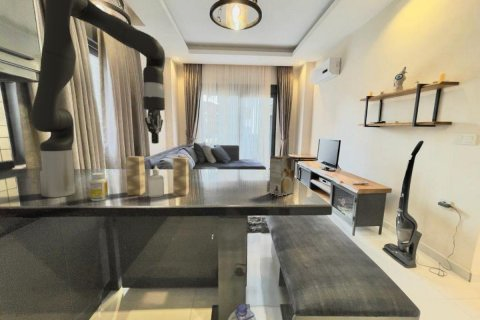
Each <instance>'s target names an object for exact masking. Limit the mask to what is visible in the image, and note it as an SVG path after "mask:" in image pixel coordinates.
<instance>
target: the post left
mask: <svg viewBox="0 0 480 320" xmlns="http://www.w3.org/2000/svg"><path fill="white" fill-rule="evenodd" d="M125 166H126V167H125V168H126V187H127V188H126V189H127V196H141V195H143V194H145V193H146V172H145V167H146V166H145V156H143V155H131V156H130V155H129V156H126V157H125Z"/></svg>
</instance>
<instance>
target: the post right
mask: <svg viewBox="0 0 480 320" xmlns="http://www.w3.org/2000/svg"><path fill="white" fill-rule="evenodd" d="M189 163H190V162H189V157H188V156H175V157H173V158H172V174H173V175H172V179H173V183H172V185H173V187H172V189H173V197H186V196H187V195H188V194H189V191H190V189H189V188H190V187H189V185H190V184H189V180H190V179H189V175H190V173H189V165H190V164H189Z"/></svg>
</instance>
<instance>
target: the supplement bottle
mask: <svg viewBox="0 0 480 320" xmlns="http://www.w3.org/2000/svg"><path fill="white" fill-rule="evenodd" d="M91 178H92V179H91V180H90V181H89V186H90V189H89V190H90V200H91V201H93V202H101V201H106V200H107V199H108V198H109V191H108V189H109V186H108V179H107V178H106V173H105V172H93V173H91Z"/></svg>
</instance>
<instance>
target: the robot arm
mask: <svg viewBox="0 0 480 320" xmlns="http://www.w3.org/2000/svg"><path fill="white" fill-rule="evenodd" d="M44 6H45V7H44V8H45V10H44V11H45V14H44V15H45V17H44V18H45V19H44V31H43V32H44V33H43V43H42V49H41V53H40V54H41V55H40V56H41V57H40V67H39V75H38V81H37V82H38V83H37V88H36V92H35V97H34V101H33V104H32V108H31V114H30V122H31V124H32V126H33V128H34V129H35V130H37V131H38V132H41V133H50V136H49V137H48V138H47V139H46V140H44V141H43V142H41V143H40V144H39V149H40V158H41V159H40V160H41V170H40V171H39V181H40V192H41V196H42V197H45V198H62V197H66V196H71V195H74V194H75V193H76V189H75V188H76V186H75V173H74V172H75V171H74V157H73V144H74V141H75V128H74V127H75V125H74V118H73V115H72V114H71V112H70V111H69V110H68V109H66V108H63V107H62V108H61V107H57V103H58V98H59V95H60V94H61V92H62V91H63V89H64V88H65V87H66V86H67V85H68V84H69V82H70V81H71V79H73V76H74V74H75V70H76V69H75V68H76V62H77V55H76V54H77V53H76V50H75V46H74V45H75V44H74V41H73V38H72V34H71V28H70V26H71V23H70V22H71V17H73V18H75V19H78V20H80V21H83V22H86V23H87V24H90V25H92V26H93V27H96V28H97V29H99V30H101V31H102V32H104V33H106V34H107V35H108V36H110V38H113V39H114V40H116V41H117V42H119V43H121V44H122V45H124V46H126V47H128V48H130V49H133V50H135V51H136V52H138V53H140V55H143V56H144V57H145V58H146V63H145V67H143V70H142V81H143V83H142V84H143V85H142V106H143V107H142V108H143V110H146V111H147V117H144V121H145V125H146V128H147V131H148V132H149V133H150V134H151V136H150V137H151V138H150V139H151V144H153V145H155V144H159V143H160V140H159V139H160V138H159V137H160V136H159V135H160V133H161V131H162V127H163V123H164V120H163V119H162V115H161V111H165V110H166V107H165V106H166V103H165V102H166V101H165V100H166V99H165V86H164V85H165V83H164V70H165V64H166V56H165V53H166V52H165V49H164V48H163V46H162V45H161V43H160V42H159V41H158V40H157V38H155V37H153V36H152V35H150V34H148V33H146V32H145V31H142V30H140V29H137V28H136V27H134V26H133V25H131V24H129V23H128V22H126V21H125V20H123V19H122V18H119V17H118V16H115V15H113V14H111V13H109V12H106V11H104V10H103V9H101V8H100V7H98V6H97V5H96V4H95V3H94V2H92V1H91V0H45V4H44Z"/></svg>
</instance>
